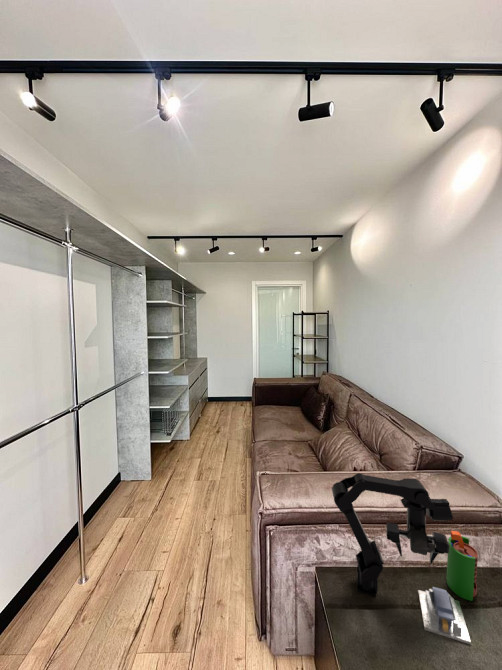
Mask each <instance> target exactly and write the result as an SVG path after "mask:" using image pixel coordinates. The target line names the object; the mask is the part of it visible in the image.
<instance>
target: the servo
mask: <svg viewBox="0 0 502 670" xmlns="http://www.w3.org/2000/svg"><path fill="white" fill-rule="evenodd" d="M432 590H433V593H434V599H433V603H434V608H435V613H436V615H438V617H439V621H441V622H442V625H443V628H447V629H448V624H451V625H452V621H454V619H453V615H452V608H451V604H450V600H449V596H448V594H449V592H447V590H446V589H443V588H440V587H435V586H432Z"/></svg>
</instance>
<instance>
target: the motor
mask: <svg viewBox="0 0 502 670" xmlns="http://www.w3.org/2000/svg"><path fill="white" fill-rule="evenodd" d="M447 541H448V544H449V553H448V554H447V561H446V562H447V563H446V584H447V586H448V588H449V589H450V590H451V591H452V592H453V593H454V594H455V595H457V596H458V597H460V598H461V599H464V600H467V601H474V598H475V597H476V596H477V593H478V585H477V576H478V575H477V574H478V573H477V571H478V559H479V558H478V557H479V553H478V551H477V550H476V549H475V548H474V547H473V546H472V545H470V538H469V537H466V536H463V535H462V534H461V533H460V532H459V531H457V530H450V537H448V538H447Z"/></svg>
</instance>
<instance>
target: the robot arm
mask: <svg viewBox="0 0 502 670" xmlns="http://www.w3.org/2000/svg"><path fill="white" fill-rule="evenodd" d="M349 488H350V489H349ZM365 491H368V492H374V493H380V494H386V495H392V496H398V497H401V498H402V499H400V502H401V504H402V506H403V507H404V508H406V530H404V529H400V528H399V524H397V523H393V522H389V521H388V522H387V523H386V528H385V529H386V530H385V532H386V539H387V540H388V541H391V542H392V543H394V545H396V548H397V550H398V552H399V556H400V557H402V556H403V553H402V545H401V538H405V539H407V540H409V545H410V546H409V547H410V550H411V552H412V553H413V554H418V555H423V556H426V555H428V553H429V563H430V565H432V564H433V563H434V561H435V559H436V558H437V556H438V555H439V554H441V555H444V554H447V555H448V553H449V544H448V538H447V535H445V534H444V533H441V532H440V533H439V532H435V531H432V535H429V534H427V530H426V529H427V517H429V518H430V520H432V521H438V522H439V521H441V522H452V521H453V516H454V515H453V511H452V510H451V506H450V502H449V501H448V499H447V498H431V496H430V493H429V492H428V491H427V489H426V487H425V486H424V485H423V484H422V482H421V481H420V480H419V479H417V478H405V477H404V478H401V479H399V480H397V479H390V478H385V477H380V476H373V475H366V474H363V473H359V472H358V473H355V474H354V475H352V476H348V477H345V478H343V479H342V480H340V481H338V482H335V483H334V484H333V485H332V487H331V492H332V496H333V502H334V505H335V506H336V507H337V508H338V510H339V511H340V512H341V513H342V514H344V516H345V518H346V520H347V522H348V524H349V527H350V529H351V531H352V533H353V535H354V537H355V539H356V541H357V543H358V545H359V548H360V550H361V551H359V552H358V553H357V554H356V555H355V558H356V559H355V560H356V562H357V568H356V591H357V592H359V593H363V594H366V595H369V596H373V597H377V591H379V587H378V586H379V576H380V575H381V574H382V572H383V570H384V565H385V563H384V560H383V556H382V554H381V551H380V548H379V547H378V546H377V543H376V541H375V540H372V541H371V540H370V539H369V537H368V534H367V533H366V530H365V529H364V526H363V524H362V523H361V520H360V519H359V517H358V514H357V512H356V510H355V507H354V505H353V503H354V502H356V501H357V500H358V498H359V497H360V495H361V494H362V493H363V492H365Z"/></svg>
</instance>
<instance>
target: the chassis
mask: <svg viewBox="0 0 502 670" xmlns="http://www.w3.org/2000/svg"><path fill="white" fill-rule="evenodd" d="M417 592H418V593H417V594H418V598H419V603H420V609H421V612H420V613H421V616H422V623H423V628H424V631H426V632H430V633H432V634H437V635H439V636H442V637H446V638H449V639H452V640H456V641H458V642H461V643H465V644H467V645H472V643H471V638H470V634H469V631H468V628H467V625H466V624H467V623H466V621H465V616H464V613H463V610H462V607H461V603H460V601H459V600H455V599H454V597H452V596H451V595H450V594H449V593H448V596H449V600H450V604H451V608H452V615H453V619H454V621H452V625H451V624H448V629H447V628H443V625H442V622H441V621H439V617H438V615H436V613H435V608H434V603H433V599H434V593H433V588H429V589H428V590H425V591H424V590H420V589H418V590H417Z"/></svg>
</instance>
